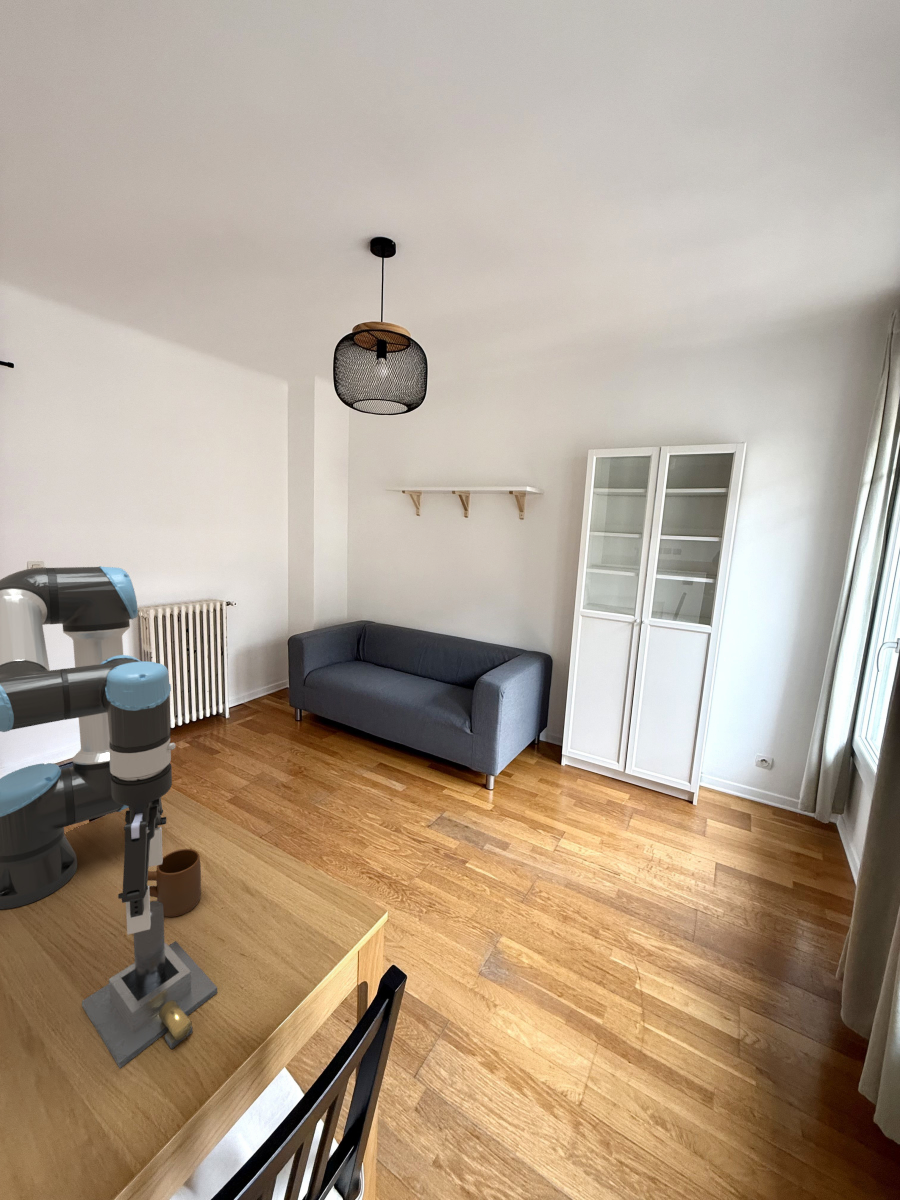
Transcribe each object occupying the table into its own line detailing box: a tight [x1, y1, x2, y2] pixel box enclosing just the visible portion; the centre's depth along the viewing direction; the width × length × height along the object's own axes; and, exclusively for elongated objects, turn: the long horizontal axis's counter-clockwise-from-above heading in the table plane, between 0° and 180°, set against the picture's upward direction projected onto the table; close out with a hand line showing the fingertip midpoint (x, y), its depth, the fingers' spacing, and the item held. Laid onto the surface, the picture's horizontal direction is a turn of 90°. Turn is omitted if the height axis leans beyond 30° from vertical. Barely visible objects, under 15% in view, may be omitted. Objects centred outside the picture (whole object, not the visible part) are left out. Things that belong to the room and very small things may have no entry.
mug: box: [147, 848, 202, 918], centre depth 93 cm, size 12×8×9 cm, turn 125°
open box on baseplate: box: [81, 940, 218, 1069], centre depth 75 cm, size 18×14×4 cm
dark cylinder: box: [133, 900, 166, 1001], centre depth 75 cm, size 4×4×15 cm
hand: (146, 894), depth 74 cm, fingers open, 13 cm apart
